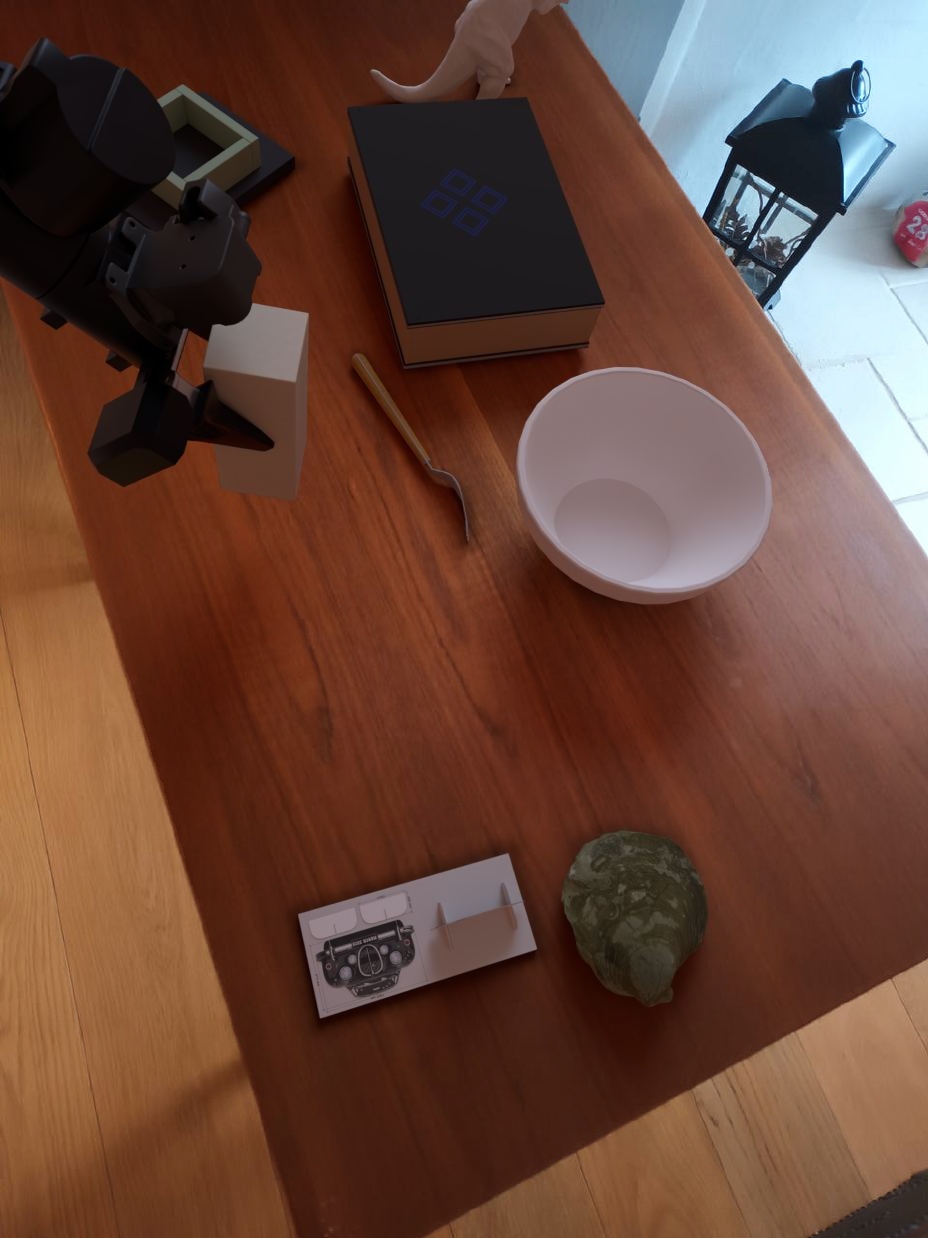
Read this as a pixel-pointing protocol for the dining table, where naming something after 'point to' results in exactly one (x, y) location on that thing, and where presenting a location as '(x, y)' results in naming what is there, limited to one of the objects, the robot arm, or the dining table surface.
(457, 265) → the book
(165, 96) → the stepped rectangular base
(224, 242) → the robot arm
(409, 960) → the car cutout
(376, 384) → the fork
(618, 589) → the bowl
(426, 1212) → the dining table surface
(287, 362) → the white rectangular block
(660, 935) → the seashell
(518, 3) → the dinosaur figurine
